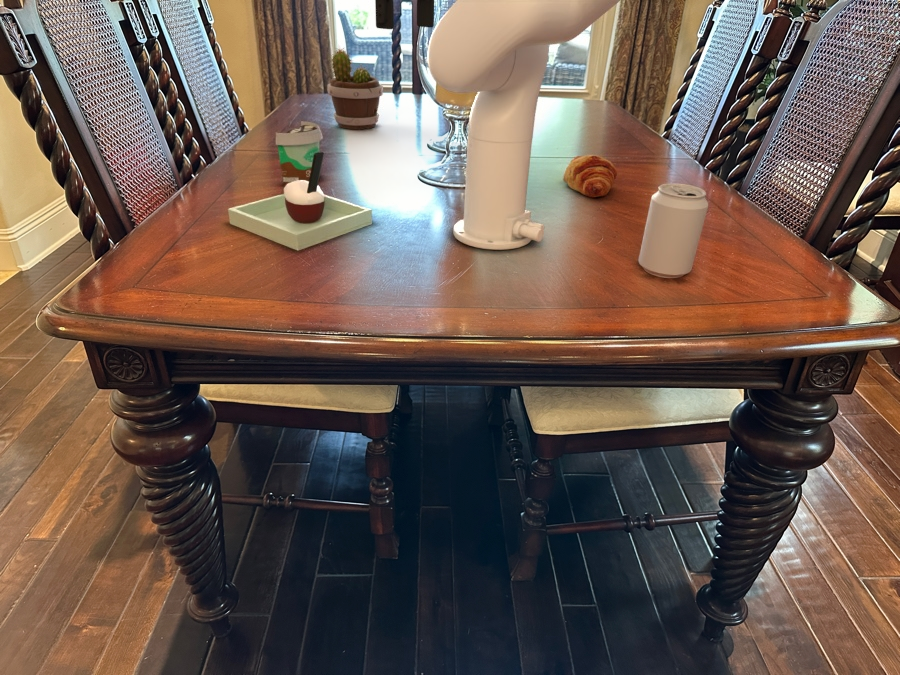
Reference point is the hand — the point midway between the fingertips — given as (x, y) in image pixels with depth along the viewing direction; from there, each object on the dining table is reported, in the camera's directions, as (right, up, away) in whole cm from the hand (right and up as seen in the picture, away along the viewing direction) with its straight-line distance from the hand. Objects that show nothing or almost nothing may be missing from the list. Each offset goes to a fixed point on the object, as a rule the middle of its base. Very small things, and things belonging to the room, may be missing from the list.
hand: (405, 27), depth 97 cm
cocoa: (-16, -31, +2) cm, 35 cm away
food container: (-21, -19, +23) cm, 36 cm away
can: (+38, -40, -9) cm, 56 cm away
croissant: (+35, -19, +26) cm, 48 cm away
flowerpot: (-18, +8, +68) cm, 71 cm away
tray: (-17, -31, +2) cm, 35 cm away
